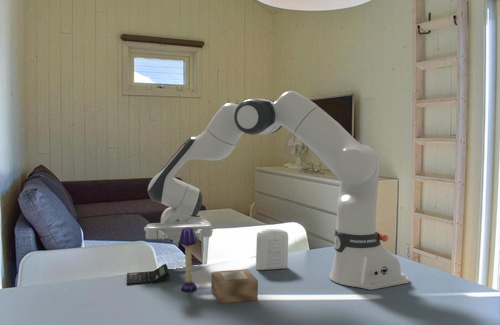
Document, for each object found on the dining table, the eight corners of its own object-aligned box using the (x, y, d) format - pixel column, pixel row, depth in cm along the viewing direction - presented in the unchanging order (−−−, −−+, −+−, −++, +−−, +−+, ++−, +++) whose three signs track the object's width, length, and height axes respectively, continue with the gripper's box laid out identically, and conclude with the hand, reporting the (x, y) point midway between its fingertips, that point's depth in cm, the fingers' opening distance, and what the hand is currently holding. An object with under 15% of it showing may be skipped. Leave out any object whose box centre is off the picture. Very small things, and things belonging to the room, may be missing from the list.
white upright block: (284, 265, 144) (285, 227, 143) (289, 269, 140) (290, 229, 139) (254, 267, 141) (254, 228, 140) (258, 271, 137) (258, 231, 136)
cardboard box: (247, 287, 123) (247, 268, 123) (257, 300, 113) (257, 279, 113) (211, 290, 120) (211, 270, 120) (218, 303, 111) (218, 282, 110)
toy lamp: (193, 293, 118) (193, 230, 117) (176, 291, 119) (176, 229, 118) (199, 287, 123) (199, 226, 122) (182, 285, 124) (182, 225, 122)
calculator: (127, 275, 133) (127, 265, 133) (167, 273, 136) (167, 263, 135) (126, 286, 124) (126, 275, 123) (169, 283, 127) (169, 272, 126)
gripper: (143, 217, 142) (145, 226, 129) (207, 215, 147) (215, 224, 134) (143, 237, 142) (145, 248, 129) (207, 234, 148) (215, 245, 135)
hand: (181, 236), depth 132 cm, fingers open, 8 cm apart
